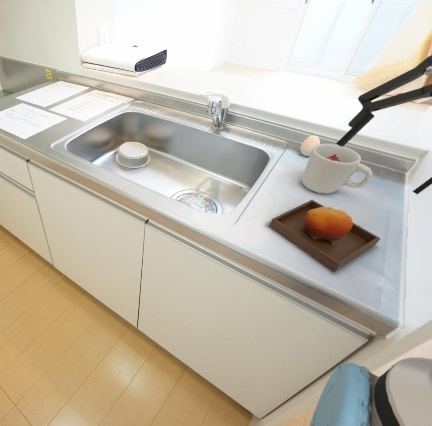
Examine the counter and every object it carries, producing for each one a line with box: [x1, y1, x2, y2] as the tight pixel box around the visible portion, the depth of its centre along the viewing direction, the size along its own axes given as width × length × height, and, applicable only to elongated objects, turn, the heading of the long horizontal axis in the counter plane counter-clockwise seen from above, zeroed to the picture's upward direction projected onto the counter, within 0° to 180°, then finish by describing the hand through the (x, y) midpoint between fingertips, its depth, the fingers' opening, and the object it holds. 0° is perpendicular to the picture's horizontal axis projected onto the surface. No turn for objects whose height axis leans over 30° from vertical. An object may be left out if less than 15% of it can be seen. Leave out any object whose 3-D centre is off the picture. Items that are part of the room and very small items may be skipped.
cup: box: [301, 143, 373, 194], centre depth 72 cm, size 14×10×10 cm
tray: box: [268, 199, 382, 273], centre depth 62 cm, size 15×14×2 cm
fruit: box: [305, 206, 354, 245], centre depth 60 cm, size 8×8×8 cm
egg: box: [299, 134, 321, 157], centre depth 87 cm, size 5×5×7 cm
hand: (374, 167), depth 49 cm, fingers open, 13 cm apart
